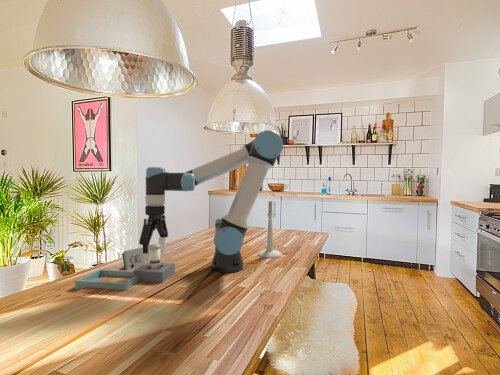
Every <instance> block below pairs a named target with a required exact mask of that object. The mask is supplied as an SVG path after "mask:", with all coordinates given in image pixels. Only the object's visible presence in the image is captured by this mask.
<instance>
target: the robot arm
mask: <svg viewBox="0 0 500 375" xmlns="http://www.w3.org/2000/svg"><path fill="white" fill-rule="evenodd" d="M283 148H284V142H283V139H282V136H281V135H280V133H278V132H277V131H274V130H272V129H271V130H270V129H267V130H262V131H260V132H259V133H258V134H257V135H256V136H255V138H254V139H253V140H251V141H250V142H248V143H246V144H244V145H243V146H242V148H240V149H238V150H235V151H233V152H230V153H228V154H225V155H223V156H221V157H219V158H216V159H214V160H212V161H208V162H207V163H204V164H201V165H199V166H197V167H195V168H192V169H191V170H187V171H185V172H169V171H168V172H167V171H166V168H165V167H157V166H156V167H154V166H149V167H147V168H146V170H145V178H144V179H145V197H144V198H145V209H144V210H145V215H146V216H148V217H147V218H143V226H142V229H141V233H140V237H139V241H138V242H139V245H140V246H141V245H142V248H143V261H145V262H146V263H148V262H150V245H151V244H150V242H151V239H152V237H153V233H154V231H155V230H156V231H157V233H158V235H159V237H158V244H160V254H165V253H166V238H168V237H169V231H168V228H167V222H166V215H165V213H166V212H165V210H166V209H165V208H166V206H165V203H166V191H167V192H169V191H170V192H171V191H172V192H193V191H194V190H195V188H196V187H197V186H199V185H200V184H203V183H205V182H208V181H209V180H212V179H214V178H217V177H219V176H222V175H225V174H227V173H230V172H231V171H234V170H236V169H237V170H238V169H239V168H241V167H243V166H246V165H247V167H246V169H245V172H244V174H243V177H242V179H241V181H240V183H239V185H238V189H237V191H236V192H235V196H234V199H233V200H232V203H231V205H230V207H229V210H228V212H227V214H225V215H223V216H222V217H221V218H216V219H215V222H214V227H215V228H214V230H215V231H214V232H215V233H214V237H213V243H214V254H213V257H212V259H211V262H210V263H211V264H210V266H211V270H212V271H214V272H219V273H233V272H234V273H235V272H239V271H241V270H243V269H244V268H245V267H244V266H245V264H244V260H243V256H242V253H241V249H242V247H243V245H244V238H245V236H246V234H247V231H248V229H249V225H248V222H247V221H248V220H249V217H250V213H251V212H252V210H253V207H254V205H255V202H256V200H257V197H258V195H259V193H260V190H261V188H262V186H263V183H264V181H265V178H266V176H267V174H268V171H269V170H270V169H272V168H274V167H275V166H274V165H275V163H276V161H277V159H278V157H279V156H280V155H281V153H282V151H283Z"/></svg>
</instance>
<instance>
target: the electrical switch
mask: <svg viewBox="0 0 500 375" xmlns="http://www.w3.org/2000/svg"><path fill="white" fill-rule="evenodd" d="M121 256H122V261H123V267H124V269H125V271H131V270H132V269H137V268H139V267H141V266H143V265H144V264H146V263H147V261H143V247H137V248H132V249H127V250H124V251H123V252H122V255H121Z"/></svg>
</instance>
